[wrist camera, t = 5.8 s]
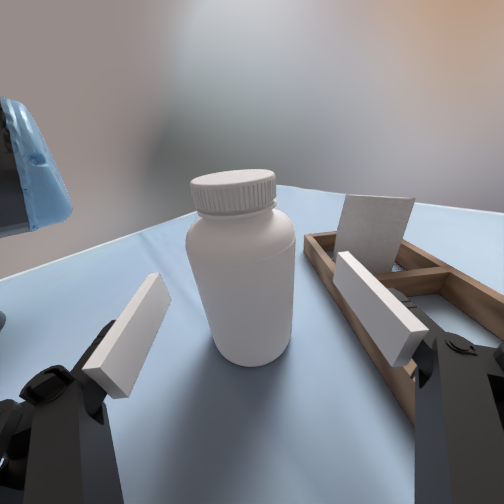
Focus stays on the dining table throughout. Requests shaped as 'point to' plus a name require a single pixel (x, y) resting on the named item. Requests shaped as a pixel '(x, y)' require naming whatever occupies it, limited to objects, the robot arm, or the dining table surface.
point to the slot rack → (410, 284)
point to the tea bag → (373, 230)
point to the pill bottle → (243, 264)
